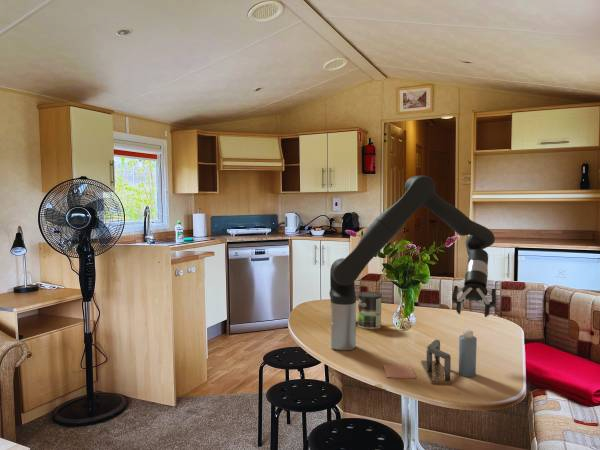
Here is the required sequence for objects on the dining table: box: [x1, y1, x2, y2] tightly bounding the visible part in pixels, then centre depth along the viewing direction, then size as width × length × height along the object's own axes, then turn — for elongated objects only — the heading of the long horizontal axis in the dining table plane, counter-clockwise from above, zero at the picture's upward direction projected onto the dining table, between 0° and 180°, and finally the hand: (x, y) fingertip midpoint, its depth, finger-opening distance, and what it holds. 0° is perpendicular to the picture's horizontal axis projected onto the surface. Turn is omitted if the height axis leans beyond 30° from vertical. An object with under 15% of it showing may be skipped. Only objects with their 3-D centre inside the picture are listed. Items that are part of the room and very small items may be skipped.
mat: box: [383, 364, 417, 379], centre depth 152 cm, size 9×10×1 cm
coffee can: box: [357, 291, 383, 330], centre depth 203 cm, size 10×10×14 cm
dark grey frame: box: [420, 339, 453, 385], centre depth 150 cm, size 6×17×9 cm, turn 176°
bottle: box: [458, 329, 478, 378], centre depth 149 cm, size 5×5×14 cm
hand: (472, 314), depth 159 cm, fingers open, 8 cm apart
